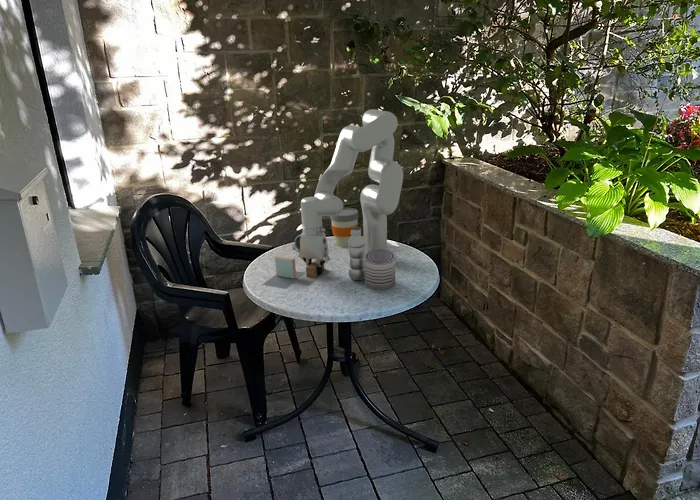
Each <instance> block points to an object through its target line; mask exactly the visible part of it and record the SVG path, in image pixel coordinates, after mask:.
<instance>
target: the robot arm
mask: <svg viewBox="0 0 700 500" xmlns="http://www.w3.org/2000/svg"><path fill="white" fill-rule="evenodd" d="M361 121H362V125H363V126H358V125H357V126H355V125H347V126H345V127H343V128H342V129H341V131H340V133H339V136H338V139H337V143H336V146H335V149H334V152H333V155H332V158H331V162H330V164H329V166H328V167H327V168H326V169H325V171H324V173H323V174H322V175H321V177H320V178H319V180H318V183H317V186H316V189H315V192H314V195H313V196H308V197H303V198H302V199H301V201H300V213H301V214H300V215H301V227H302V228H301V229H302V232H301V241H300V251H299V252H300V253H299V254H298V257H299V258H300V259H301V260H303V262H304V263H305V265H306V267H307V266H309V265H310V264H311V263H312V262H313V260H316V259H317V264H318V267H317V276H320V275H322V274H323V273H324V270H323V264H324V265H325V264H326V263H328V262H330V261H331V258H330V256H329V247H328V239H327V236H326V228H324V226H323V217H330V216H336V215H338V214H340V213H341V212H342V210H343V208H344V202H343V201H342V199H340V198H339V197H338V196H336V195H335V194H334V192H335V188H336V186H337V184H338V183H339V181H340V180H341V179H343V178H344V177H346V176H348V175H350V174H351V173H353V170H354V167H355V163H356V160H357V158H358V155H359V153H364V152H367V151H369V150H371V152H370V158H369V163H368V164H369V165H368V169H367V173H368V177H369V179H371V180H372V181H374V182H375V183H378V184H367V185H366V186H365V187H364V188H362V190H361V192H360V199H359V200H360V205H361V212H362V231H363V236H362V237H363V239H364V240H365V249H364V255H365V254H366V253H367V252H369V251H370V250H377V249H385V250H389V251H390V249H389V248H388V235H387V234H388V232H387V231H388V230H387V228H388V219H387V218H388V217H387V216H389V215H392V214H393V213H394V212H395V211H396V209H397V207H398V205H399V201H400V196H401V191H402V187H403V183H404V180H403V179H404V171H403V168H402V165H401V164H399V162H396V161H394V154H395V153H394V152H395V138H394V133H395V132H396V130H397V128H398V118H397V116H396V115H395V114H394V113H392V112H391V111H386V110H381V109H380V110H379V109H368V110H366V111H365V112H364V113H363V114H362V119H361ZM395 261H397V257H396V258H395ZM364 265H365V260H364Z"/></svg>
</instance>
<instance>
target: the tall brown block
mask: <svg viewBox="0 0 700 500" xmlns="http://www.w3.org/2000/svg"><path fill="white" fill-rule="evenodd" d="M317 267H318V264H317V259H314V261H312V263H311V264H310V265H309V266H307V265H306V267H305V274H306V276H304V275H303V276H302V277H300V278H299V279H298V280H297V281H295V282H294V283H293V284H294V285H299V286H305V287H310V285H312V284H313V283H314V282H316V280H318V278H317V276H318V275H317ZM325 268H326V267H325V263H324V264H323V271H324V270H325Z"/></svg>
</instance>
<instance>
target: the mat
mask: <svg viewBox="0 0 700 500" xmlns="http://www.w3.org/2000/svg"><path fill="white" fill-rule="evenodd" d="M305 274H306V272H302V271H297V270H296V278H295V279H293V278H287V277H281V276H277V273H275V275H273V276H271V277H270V278H269V279H268V280H266V281H265V282H263V283H262V284H261V285H263V286H269V287H272V288H273V287H274V288H279V289H285V290H287V289H288V288H289V287H291V285H293V284H294V283H296V282H297V281H298V280H299V279H301V278H302V277H303V276H304V275H305Z"/></svg>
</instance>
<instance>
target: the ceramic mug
mask: <svg viewBox="0 0 700 500" xmlns="http://www.w3.org/2000/svg"><path fill="white" fill-rule="evenodd" d="M301 234H302V233H301ZM301 234H299V235H297V236H296V237H295V239H294V243H292V244H291V248H292V249H297V251H299V252H301V251H300V241H301Z"/></svg>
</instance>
